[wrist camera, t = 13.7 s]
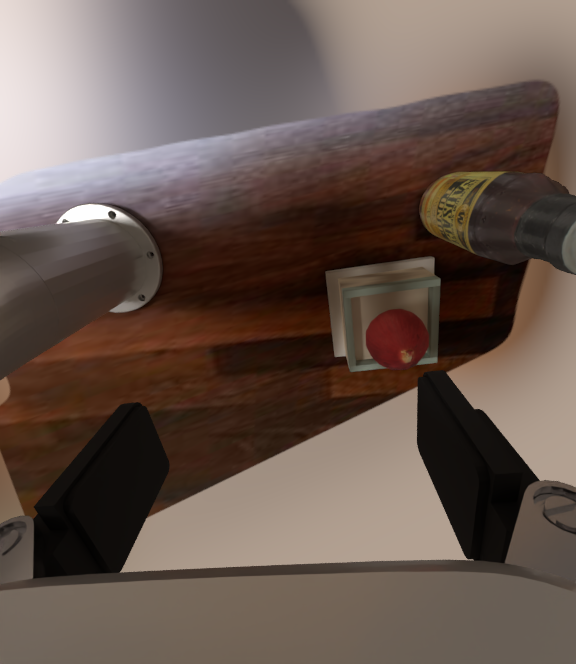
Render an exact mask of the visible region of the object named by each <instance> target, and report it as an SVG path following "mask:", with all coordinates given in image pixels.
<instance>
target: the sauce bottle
mask: <svg viewBox="0 0 576 664" xmlns="http://www.w3.org/2000/svg"><path fill="white" fill-rule="evenodd" d="M419 212H420V218H421V220H422V224H423V226H424V227H425V228H427V230H428V231H429V232H430V233H432V234H433V235H435V236H437V237H439V238H441V239H444V240H446V241H448V242H450V243H453V244H455V245H457V246H459V247H461V248H464V249H466V250H468V251H470V252H472V253H474V254H476V255H479V256H481V257H485V258H488V259H492V260H495V261H499V262H502V263H506V264H509V265H515V264H517V263H520V262H523V261H526V260H529V259H531V258H534V259H541V260H544V261H547V262H550V263H551V264H552V265H553V266H554V267H555V268H557V269H559V270H561V271H564V272H567V273H571V274H574V275H576V196H574V195H570V194H569V192H568V190H567V189H566V187H565V186H562V185H561V184H560V183H559V182H556V181H554V180H551V179H550V178H549V177H547V176H545V175H544V174H542V173H530V174H529V173H527V174H525V173H521V172H456V173H451V174H448V175H444V176H442V177H440V178H438V179H437V180H435V181H434V182H432V183H431V184H430V185H429V187H428V188H427V189H426V191H425V193H424V194H423V197H422V198H421V203H420V205H419Z"/></svg>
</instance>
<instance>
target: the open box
mask: <svg viewBox="0 0 576 664" xmlns="http://www.w3.org/2000/svg"><path fill="white" fill-rule="evenodd" d="M434 260H435V258H434V257H432V256H429V257H422V258H415V259H408V260H401V261H394V262H387V263H380V264H373V265H366V266H359V267H352V268H345V269H338V270H331V271H325V272H326V282H327V291H328V300H329V309H330V318H331V328H332V337H333V346H334V354H335V357H340V356H346V358H347V362H348V366H349V370H350V372H355V371H364V370H374V369H383V368H386V367H383V366H381V365H380V364H378V363H377V362H376V361H375V360H374V359H373V358H372V356H371V355H370V353H369V351H368V349H367V347H366V330H367V328H368V326H369V324H370V322H371V321H372V320H373V319H374V318H376V317H377V316H378V315H379V314H381V313H383V312H385V311H387V310H391V309H404V310H407V311H410V312H412V313H414V314H415V315H417V316H418V317H419V318H420V319H421V320H422V321H423V323H424V325H425V327H426V329H427V331H428V333H429V347H428V349H427V351H426V353H425V355H424V356H423V358H422V359H421V360H420V361H419V362H418V364H417V365H420V364H429V363H437V355H438V331H439V306H440V281H441V279H440V278H439V277H437V276H436V275H434Z"/></svg>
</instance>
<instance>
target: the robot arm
mask: <svg viewBox="0 0 576 664" xmlns="http://www.w3.org/2000/svg"><path fill="white" fill-rule="evenodd" d="M115 214H116V216H115ZM152 252H153V254H154V256H153V255H152ZM162 274H163V265H162V258H161V254H160V251H159V248H158V246H157V244H156V242H155V240H154V238H153V237H152V235H151V234H150V232H149V231H148V229H147V228H146V227H145V226H144V225H143V224H142V223H141V222H140V221H139V220H138V219H136V218H135V217H134V216H133V215H131V214H130V213H128V212H126V211H124V210H122V209H121V208H118V207H115V206H112V205H109V204H102V203H88V204H83V205H78V206H76V207H73V208H71V209H69V210H68V211H67V212H65V213H64V214H63V215H62V216H61V217H60V219H59V220H58V221H57V223H56V224H50V225H43V226H36V227H29V228H22V229H15V230H8V231H1V232H0V380H1V379H3V378H4V377H6V376H7V375H9V374H10V373H12V372H13V371H15V370H16V369H18V368H19V367H21V366H22V365H24V364H26V363H27V362H29V361H30V360H32V359H33V358H35V357H37V356H38V355H40V354H41V353H43V352H44V351H46V350H48V349H50V348H51V347H53V346H55V345H56V344H58V343H59V342H61V341H62V340H64V339H66V338H67V337H69V336H70V335H72V334H73V333H75V332H77V331H78V330H80V329H81V328H83V327H84V326H86V325H88V324H89V323H91V322H92V321H94V320H96V319H97V318H99V317H100V316H102V315H104V314H105V313H107V312H115V313H119V312H129V311H133V310H136V309H138V308H140V307H142V306H143V305H145V304H146V303H147V302H149V301H150V300H151V299H152V298H153V297H154V296H155V294H156V292H157V291H158V289H159V287H160V284H161V281H162ZM144 296H145V297H144ZM417 411H418V412H417V445H418V449H419V452H420V455H421V457H422V459H423V462H424V464H425V466H426V468H427V470H428V473H429V475H430V477H431V480H432V482H433V484H434V487H435V489H436V491H437V493H438V496H439V498H440V500H441V502H442V505H443V507H444V509H445V512H446V514H447V516H448V519H449V521H450V523H451V525H452V528H453V530H454V532H455V535H456V537H457V539H458V541H459V544H460V546H461V548H462V551H463V553H464V555H465V556H466V558H467V559H473V560H474V561H470V560H469V561H468V560H467V561H466V560H419V561H418V560H414V561H372V562H347V563H323V564H322V563H321V564H296V565H271V566H250V567H228V568H227V567H226V568H206V569H185V570H184V569H183V570H163V571H144V572H124V573H119V572H120V571H121V570H122V568H123V566H124V564H125V562H126V560H127V558H128V555H129V553H130V551H131V549H132V547H133V545H134V543H135V541H136V539H137V537H138V534H139V532H140V530H141V528H142V526H143V524H144V522H145V520H146V518H147V516H148V514H149V512H150V510H151V507H152V505H153V503H154V501H155V499H156V497H157V495H158V493H159V491H160V489H161V487H162V484H163V482H164V480H165V478H166V476H167V474H168V472H169V461H168V458H167V456H166V453H165V451H164V449H163V446H162V444H161V441H160V439H159V436H158V434H157V432H156V429H155V427H154V424H153V422H152V419H151V417H150V415H149V412H148V410H147V408H146V407H145V406H142V404H141V403H138V402H136V403H127V404H121V405H120V406H119V407H118V408H117V409H116V411H115V412H114V413H113V414H112V415H111V417H110V418H109V419H108V420H107V421H106V422H105V424H104V425H103V426H102V427H101V428H100V429H99V431H98V432H97V433H96V434H95V435H94V437H93V438H92V439H91V440H90V441H89V442H88V444H87V445H86V446H85V447H84V448H83V449H82V451H81V452H80V453H79V454H78V455H77V457H76V458H75V459H74V460H73V461H72V462H71V464H70V465H69V466H68V467H67V468H66V469H65V471H64V472H63V473H62V474H61V475H60V477H59V478H58V479H57V480H56V481H55V482H54V484H53V485H52V486H51V487H50V488H49V489H48V491H47V492H46V493H45V494H44V495H43V497H42V498H41V499H40V500H39V501H38V502H37V504H36V505H35V506H34V508H35V510H36V511H37V513H38V514H37V515H36V517H35V518H34V519H32V518H31V517H29V516H19V517H14V518H11V519H9V520H7V521H5V522H3V523H1V524H0V664H576V487H573V486H571V485H568V484H565V483H561V482H558V481H548V480H544V481H540V480H539V479H538V478H537V477H536V475H535V474H534V473H533V472H532V470H531V469H530V468H529V467H528V465H527V464H526V463H525V462H524V460H523V459H522V458H521V457H520V455H519V454H518V453H517V452H516V451H515V449H514V448H513V447H512V446H511V444H510V443H509V442H508V441H507V439H506V438H505V437H504V436H503V435H502V433H501V432H500V431H499V429H498V428H497V427H496V426H495V425H494V423H493V422H492V421H491V420H490V418H489V417H488V416H487V415H486V414H485V413H484V412H483V411H482V410H480V409H474V408H473V407H472V406H471V405H470V403H469V402H468V401H467V399H466V398H465V397H464V395H463V394H462V393H461V392H460V390H459V389H458V388H457V386H456V385H455V384H454V383H453V381H452V380H451V379H450V377H449V376H448V375H447V373H446V372H445V371H443V370H441V371H431V372H425V373H424V375H423V377H419V378H418V404H417Z"/></svg>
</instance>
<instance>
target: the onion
mask: <svg viewBox="0 0 576 664" xmlns="http://www.w3.org/2000/svg"><path fill="white" fill-rule="evenodd" d="M366 347H367V349H368V351H369V353H370V355H371V356H372V358H373V359H374V360H375V361H376V362H377V363H378V364H380V365H381V366H383V367H386V368H389V369H391V370H406V369H408V368H410V367H413V366H415V365H417V364H418V362H419V361H420V360H421V359H422V358H423V356H424V355H425V353H426V351H427V349H428V347H429V333H428V331H427V329H426V327H425V325H424V323H423V321H422V320H421V319H420V318H419V317H418V316H417V315H415V314H414V313H412V312H410V311H407V310H404V309H391V310H387V311H385V312H383V313H381V314H379V315H378V316H377V317H376V318H374V319H373V320H372V321H371V322H370V324H369V326H368V328H367V330H366Z"/></svg>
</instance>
